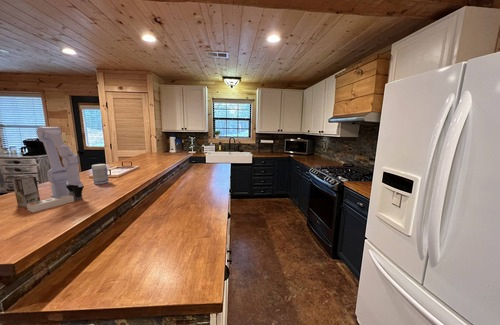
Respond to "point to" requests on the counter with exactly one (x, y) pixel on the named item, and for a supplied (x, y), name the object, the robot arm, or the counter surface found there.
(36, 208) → the power strip
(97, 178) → the supplement tub
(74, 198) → the charger
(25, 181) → the coffee box
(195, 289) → the counter surface
